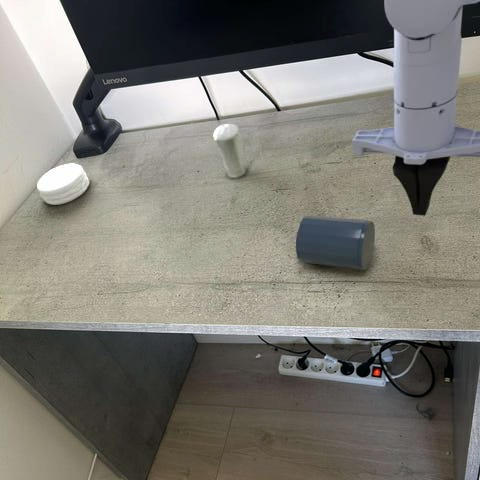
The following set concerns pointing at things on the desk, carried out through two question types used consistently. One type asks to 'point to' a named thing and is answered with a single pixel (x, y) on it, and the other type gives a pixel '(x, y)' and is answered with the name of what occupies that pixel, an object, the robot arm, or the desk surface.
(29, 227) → the desk surface
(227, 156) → the milkshake
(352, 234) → the tumbler
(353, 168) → the desk surface
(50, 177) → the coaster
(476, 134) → the robot arm
